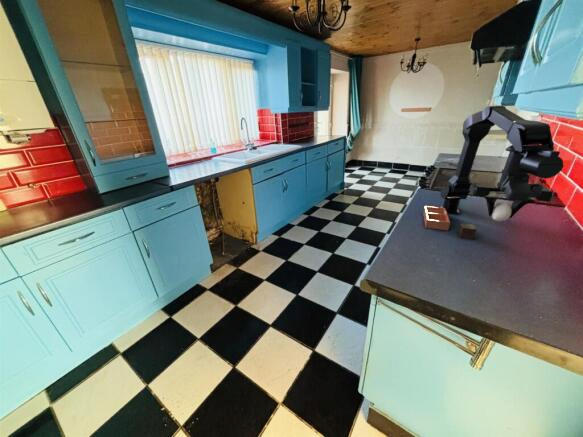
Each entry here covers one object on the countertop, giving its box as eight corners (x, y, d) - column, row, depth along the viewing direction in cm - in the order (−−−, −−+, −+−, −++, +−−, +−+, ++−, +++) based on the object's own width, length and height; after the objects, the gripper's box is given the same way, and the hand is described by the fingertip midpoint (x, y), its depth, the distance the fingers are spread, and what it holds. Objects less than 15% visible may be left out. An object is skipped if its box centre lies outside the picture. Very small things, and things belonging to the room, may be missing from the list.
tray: (425, 227, 93) (427, 219, 92) (423, 213, 106) (424, 206, 104) (448, 230, 90) (450, 222, 89) (443, 215, 103) (445, 207, 101)
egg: (505, 218, 78) (512, 200, 75) (509, 225, 74) (517, 205, 71) (487, 216, 80) (493, 198, 77) (490, 222, 76) (497, 203, 73)
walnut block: (458, 232, 89) (460, 223, 87) (470, 234, 87) (473, 224, 86) (460, 237, 85) (462, 227, 84) (473, 239, 84) (476, 229, 82)
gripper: (485, 174, 67) (470, 223, 73) (576, 178, 60) (550, 232, 66) (475, 165, 76) (463, 209, 82) (553, 167, 69) (532, 216, 75)
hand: (499, 216), depth 76 cm, fingers closed on egg, 5 cm apart
